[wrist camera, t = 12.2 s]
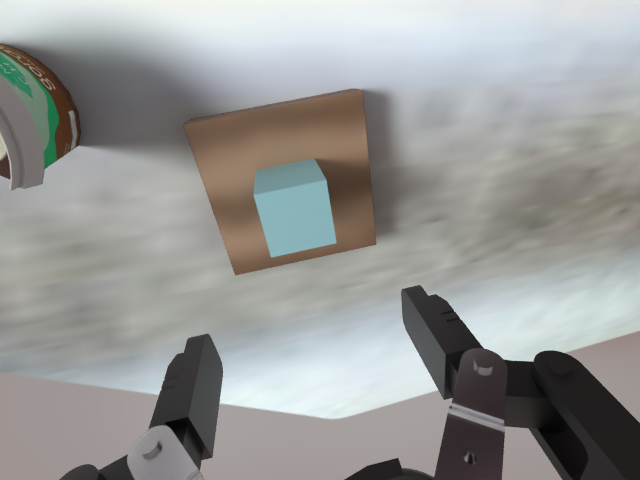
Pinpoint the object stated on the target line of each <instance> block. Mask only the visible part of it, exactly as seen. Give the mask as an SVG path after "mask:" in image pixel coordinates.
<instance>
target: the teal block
mask: <svg viewBox="0 0 640 480" xmlns="http://www.w3.org/2000/svg"><path fill="white" fill-rule="evenodd" d="M254 198H255V202H256V206H257V209H258V213H259V216H260V220H261V223H262V227H263V231H264V234H265V238H266V241H267V245H268V248H269V252H270V256H271V258H272V257H276V256H281V255H285V254H290V253H294V252H299V251H304V250H308V249H313V248H317V247H322V246H326V245H331V244H335V243H337V242H336V236H335V230H334V224H333V218H332V212H331V205H330V199H329V193H328V187H327V181H326V178H325V177H324V175H323V173H322V171H321V169H320V168H319V166H318V164H317V162H316V160H315V158H314V159H309V160H304V161H300V162H295V163H290V164H285V165H280V166H275V167H270V168H266V169H261V170H256V171H255V184H254Z"/></svg>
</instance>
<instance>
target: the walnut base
mask: <svg viewBox="0 0 640 480" xmlns="http://www.w3.org/2000/svg"><path fill="white" fill-rule="evenodd" d="M183 126H184V129H185V132H186V135H187V137H188V140H189V143H190V146H191V149H192V152H193V155H194V158H195V160H196V163H197V166H198V169H199V172H200V175H201V178H202V181H203V184H204V186H205V189H206V192H207V195H208V198H209V201H210V204H211V207H212V210H213V212H214V215H215V218H216V221H217V224H218V227H219V230H220V233H221V235H222V238H223V241H224V244H225V247H226V250H227V253H228V256H229V259H230V261H231V264H232V267H233V270H234V273H235V275H239V274H244V273H248V272H253V271H257V270H262V269H266V268H271V267H276V266H280V265H285V264H289V263H294V262H298V261H303V260H308V259H312V258H317V257H321V256H326V255H331V254H335V253H340V252H344V251H349V250H353V249H358V248H363V247H367V246H372V245H376V235H375V224H374V213H373V202H372V190H371V179H370V168H369V157H368V146H367V135H366V123H365V112H364V101H363V91H362V90H357V89H348V90H343V91H338V92H333V93H327V94H322V95H317V96H312V97H306V98H301V99H296V100H290V101H285V102H280V103H275V104H269V105H264V106H259V107H254V108H248V109H243V110H238V111H233V112H227V113H222V114H217V115H212V116H206V117H201V118H196V119H191V120H189V121H188V122H187V123H185V124H184V125H183ZM314 158H315V160H316V162H317V164H318V166H319V168H320V169H321V171H322V173H323V175H324V177H325V178H326V181H327V187H328V193H329V199H330V205H331V212H332V218H333V224H334V230H335V236H336V242H337V243H335V244H331V245H326V246H322V247H317V248H313V249H308V250H304V251H299V252H294V253H290V254H285V255H281V256H276V257H272V258H271V256H270V252H269V248H268V245H267V241H266V238H265V234H264V231H263V227H262V223H261V220H260V216H259V213H258V209H257V206H256V202H255V198H254V184H255V171H256V170H261V169H266V168H270V167H275V166H280V165H285V164H290V163H295V162H300V161H304V160H309V159H314Z"/></svg>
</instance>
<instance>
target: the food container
mask: <svg viewBox="0 0 640 480" xmlns="http://www.w3.org/2000/svg"><path fill="white" fill-rule="evenodd" d="M80 135H81V130H80V122H79V114H78V111H77V109H76V107H75V104H74V102H73V100H72V98H71V95H70V93H69V91H68V90H67V89H66V88H65V86H64V85H63V84H62V83H61V81H60V80H59V79H58V78H57V76H56V75H55V74H54V73H53V72H52V71H51V70H50V69H48V68H47V67H46V66H45V65H43V64H42V63H41V62H40V61H38V60H37V59H36V58H34V57H32V56H30V55H29V54H27V53H25V52H23V51H21V50H18V49H16V48H14V47H10V46H7V45H4V44H0V176H3V177H5V178H8V179H10V188H9V190H10V191H11V190H14V189H16V188H18V187H20V188H22V189H25V188H29V187H33V186H37V185H41V184H43V177H44V169H45V168H47V167H48V166H50V165H51V164H53V163H54V162H56V161H57V160H58V159H60V158H61V157H63V156H64V155H66V154H67V153H69V152H70V151H71V150H73V149H74V148H76V147H77V146H78V145H79V140H80Z"/></svg>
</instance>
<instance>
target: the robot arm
mask: <svg viewBox="0 0 640 480" xmlns="http://www.w3.org/2000/svg"><path fill="white" fill-rule="evenodd" d="M401 296H402V315H403V322H404V325H405V328H406V331H407V333H408V335H409V336H410V338H411V340H412V342H413V344H414V346H415V347H416V349H417V351H418V353H419V355H420V357H421V358H422V360H423V362H424V364H425V366H426V368H427V370H428V371H429V373H430V375H431V377H432V379H433V381H434V382H435V384H436V386H437V388H438V390H439V392H440V393H441V395H442V397H443V399H444V400H445V399H449V398H453V400H452V404H451V406H450V407H449V410H448V414H447V419H446V424H445V428H444V433H443V438H442V443H441V447H440V452H439V457H438V461H437V466H436V471H435V476H434V477H432V476H430V475H428V474H426V473H424V472H421V471H417V470H413V469H407V468H401V465H400V462H399V459H398V458H396V459H392V460H389V461H384V462H381V463H377V464H373V465H369V466H366V467H365V468H363V469H362V470H360V471H358V472H356V473H355V474H353V475H352V476H350V477H348V478H347V479H345V480H502V469H503V452H504V438H505V426H509V427H521V428H529V430H530V431H531V433H532V434H533V436H534V437H535V439H536V440H537V442H538V443H539V445H540V446H541V448H542V449H543V451H544V452H545V454H546V455H547V457H548V458H549V460H550V461H551V463H552V464H553V466H554V467H555V469H556V470H557V472H558V474H559V475H560V477H561V478H562V479H563V480H640V423H639V422H638V421H637V420H636V419H635V418H634V417H633V416H632V415H631V414H630V413H629V412H628V411H627V410H626V409H625V408H624V407H623V406H622V405H621V403H620V402H618V400H617V399H616V398H615V397H614V396H613V395H612V394H611V393H610V392H609V391H608V390H607V389H606V388H605V387H604V386H603V385H602V384H601V383H600V382H599V381H598V380H597V379H596V378H595V377H594V376H593V375H592V374H591V373H590V372H589V371H588V370H587V369H586V368H585V367H584V366H583V365H582V364H581V363H580V362H579V361H578V360H576V359H575V358H573V357H572V356H570V355H568V354H565V353H562V352H558V351H543V352H540V353H538V354H537V355H536V356H535V358H534V362H527V361H509V360H504V359H502V358H501V357H500V356H499V355H498V354H496V353H495V352H493V351H490V350H487V349H484V348H483V347H482V346H481V344H480V343H479V342H478V341H477V339H476V338H475V337H474V335H473V334H472V333H471V332H470V330H469V329H468V328H467V326H466V325H465V324H464V323H463V321H462V320H460V318H459V316H458V315H457V314H456V312H454V310H453V309H452V307H451V306H450V305H449V303H448V302H447V301H446V300H444V299H442V298H441V297H439V296H438V295H436V294H435V295H431V296H428V295H427V293H426V292H425V291H424V289H423V288H422V287H421V286H420V285H418V286H414V287H409V288H405V289H402V291H401ZM222 377H223V367H222V362H221V359H220V357H219V354H218V352H217V350H216V348H215V345H214V343H213V341H212V339H211V337H210V335H209V334H204V335H200V336H195V337H191V338H189V339H188V340H187V343H186V347H185V350H184V353H180V354H177V355H176V356H175V358H174V359H173V360H172V362H171V363H170V364H169V366H168V369H167V372H166V375H165V380H164V381H163V385H162V390H161V391H160V394H159V398H158V401H157V404H156V407H155V410H154V414H153V417H152V420H151V423H150V426H149V429H148V430H147V431H146V432H144V433H143V434H142V435H141V436H139V438H138V439H137V440H136V441H135V442H134V443H133V445H132V447H131V448H130V451H129V453H128V454H127V455H126V456H124V457H122V458H120V459H119V460H117V461H115V462H113V463H111V464H110V465H108V466H106V467H104V468H103V469H100V470H98V469H97V468H96V467H94V466H93V465H90V464H87V465H81V466H79V467H76V468H75V469H73V470H71V471H69V472H68V473H67V474H65V475H64V476H63V477H62V478H61V479H60V480H205V478H204V477H203V475H202V474H201V472H200V466H201V460H204V459H208V458H212V456H213V448H214V440H215V432H216V425H217V416H218V409H219V401H220V393H221V385H222Z"/></svg>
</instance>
